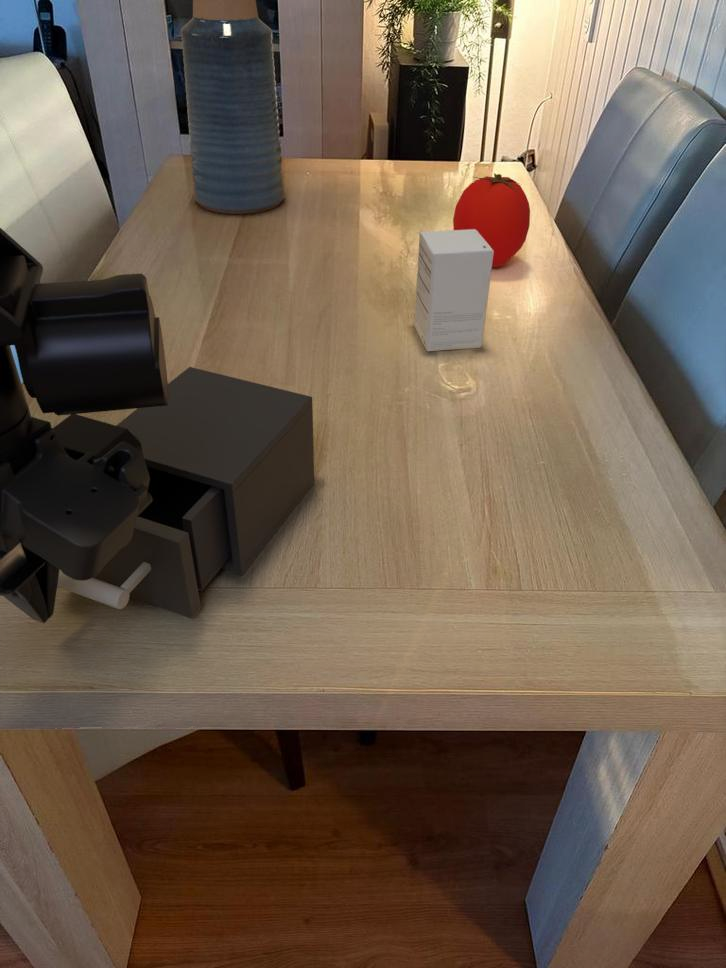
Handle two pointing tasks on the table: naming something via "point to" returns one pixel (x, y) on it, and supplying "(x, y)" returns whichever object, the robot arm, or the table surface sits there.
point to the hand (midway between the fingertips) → (42, 617)
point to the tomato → (495, 215)
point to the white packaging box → (452, 289)
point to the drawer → (166, 549)
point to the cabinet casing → (234, 450)
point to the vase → (232, 108)
